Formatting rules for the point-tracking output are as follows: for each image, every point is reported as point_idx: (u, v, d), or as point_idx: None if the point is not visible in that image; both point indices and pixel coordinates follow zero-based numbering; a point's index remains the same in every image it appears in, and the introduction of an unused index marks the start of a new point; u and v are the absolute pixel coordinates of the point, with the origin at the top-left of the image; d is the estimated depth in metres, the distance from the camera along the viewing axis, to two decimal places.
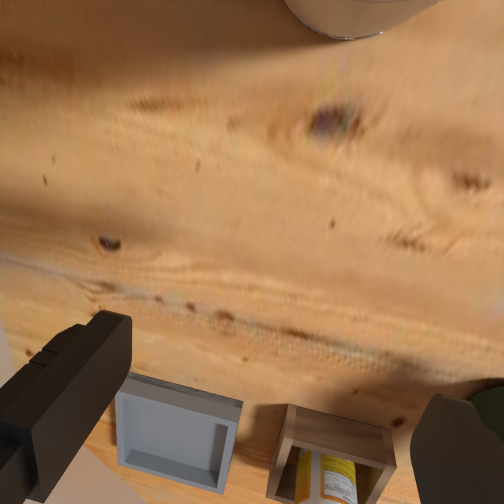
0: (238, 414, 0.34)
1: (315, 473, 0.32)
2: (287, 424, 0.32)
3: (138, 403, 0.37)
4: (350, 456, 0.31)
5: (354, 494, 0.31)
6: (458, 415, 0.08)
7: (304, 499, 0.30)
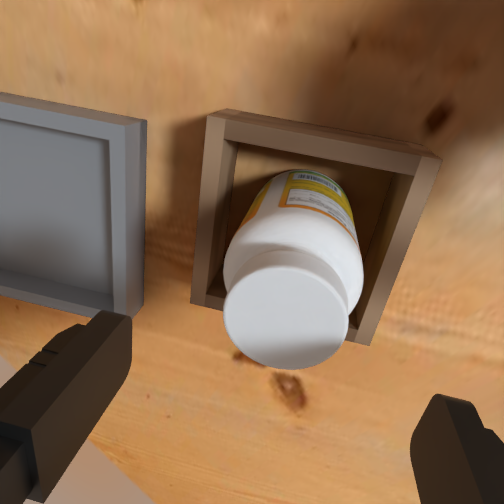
0: (131, 123, 0.18)
1: (272, 195, 0.15)
2: (218, 112, 0.16)
3: None
4: (344, 147, 0.15)
5: (352, 228, 0.15)
6: (458, 415, 0.08)
7: (244, 223, 0.14)
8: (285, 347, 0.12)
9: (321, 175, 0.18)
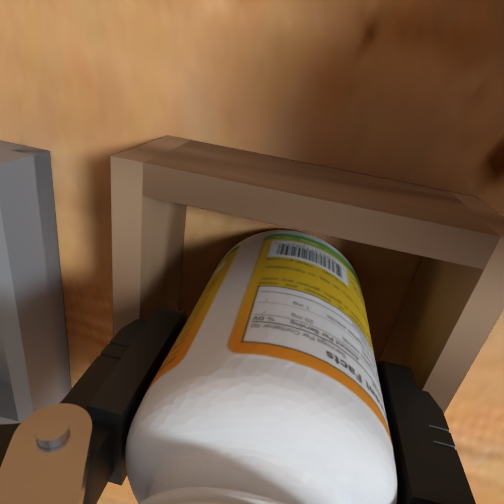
0: (12, 158, 0.11)
1: (227, 298, 0.09)
2: (140, 147, 0.10)
3: None
4: (355, 216, 0.08)
5: (371, 366, 0.08)
6: (395, 377, 0.09)
7: (164, 371, 0.07)
8: None
9: (315, 242, 0.11)
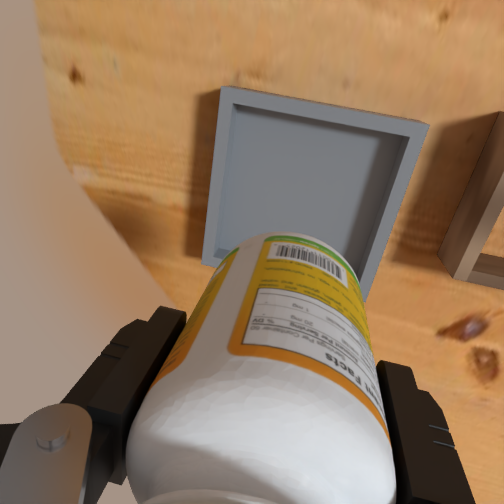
0: (423, 122, 0.21)
1: (227, 300, 0.09)
2: None
3: (245, 144, 0.24)
4: None
5: (371, 368, 0.08)
6: (395, 377, 0.09)
7: (164, 373, 0.07)
8: None
9: (315, 244, 0.11)
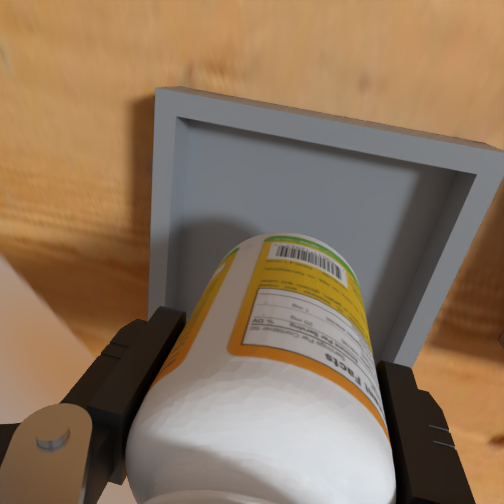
0: (497, 149, 0.12)
1: (226, 300, 0.09)
2: None
3: (204, 178, 0.15)
4: None
5: (370, 368, 0.08)
6: (395, 377, 0.09)
7: (164, 373, 0.07)
8: None
9: (315, 244, 0.11)
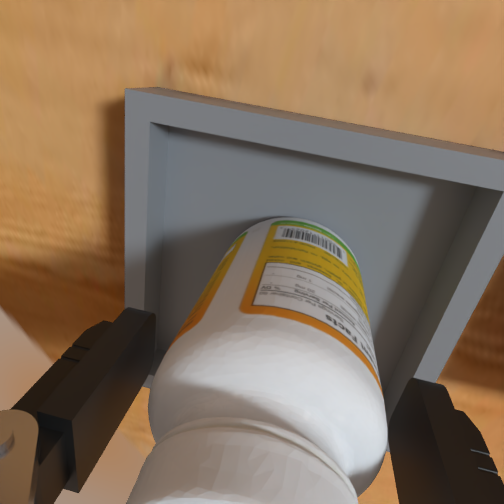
0: None
1: (238, 273, 0.10)
2: None
3: (187, 191, 0.14)
4: None
5: (367, 333, 0.09)
6: (430, 397, 0.08)
7: (183, 332, 0.08)
8: None
9: (318, 228, 0.12)
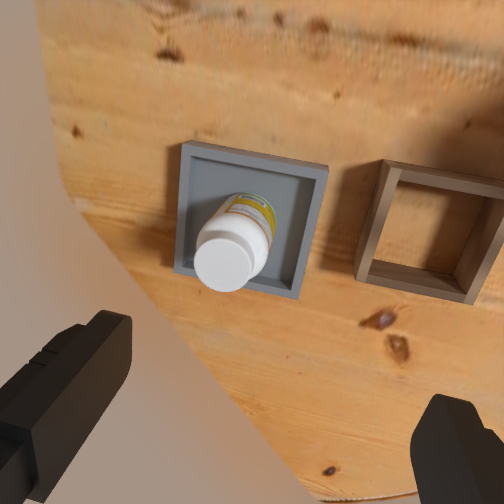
0: (327, 168, 0.29)
1: (223, 207, 0.28)
2: (389, 164, 0.28)
3: (203, 182, 0.32)
4: (470, 185, 0.26)
5: (265, 224, 0.28)
6: (458, 415, 0.08)
7: (207, 221, 0.27)
8: (224, 279, 0.25)
9: (256, 195, 0.31)
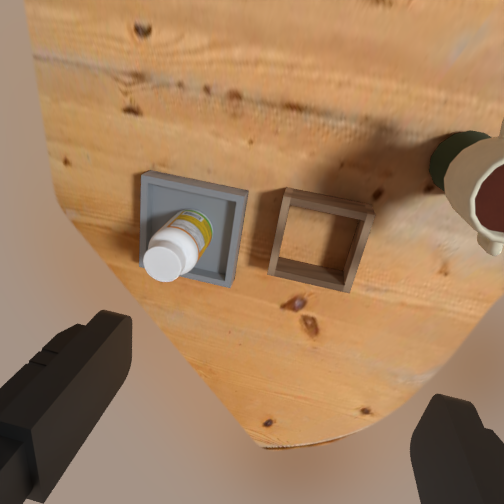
0: (244, 194, 0.41)
1: (169, 221, 0.40)
2: (285, 192, 0.39)
3: (159, 201, 0.44)
4: (337, 209, 0.38)
5: (198, 234, 0.39)
6: (458, 415, 0.08)
7: None
8: (163, 273, 0.36)
9: (196, 212, 0.43)
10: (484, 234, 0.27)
